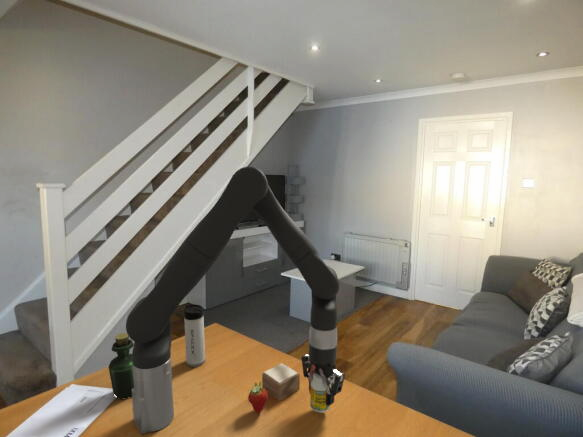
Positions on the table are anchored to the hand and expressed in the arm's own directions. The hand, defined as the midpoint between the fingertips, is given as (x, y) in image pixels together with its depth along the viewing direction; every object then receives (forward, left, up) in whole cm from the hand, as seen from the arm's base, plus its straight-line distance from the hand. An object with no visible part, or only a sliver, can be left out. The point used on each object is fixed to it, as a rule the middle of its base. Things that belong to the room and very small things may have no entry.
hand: (321, 398), depth 94 cm
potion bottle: (-37, +45, -4) cm, 58 cm away
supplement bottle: (0, 0, -2) cm, 2 cm away
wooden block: (-2, +15, -4) cm, 15 cm away
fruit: (-13, +12, -4) cm, 18 cm away
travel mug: (-14, +46, -4) cm, 48 cm away
